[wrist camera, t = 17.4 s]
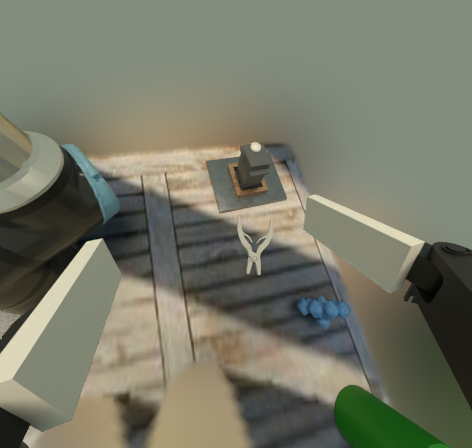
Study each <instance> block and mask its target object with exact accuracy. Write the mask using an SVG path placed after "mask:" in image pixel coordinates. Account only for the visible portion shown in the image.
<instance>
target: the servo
mask: <svg viewBox="0 0 472 448" xmlns="http://www.w3.org/2000/svg"><path fill="white" fill-rule="evenodd" d="M240 151H241V155H240V159H239V162H238V166H237V170H236V175H237V178H238V181H239V184H240V187H241V190H248V189H253V188H258V187H259V185H260V183H261V181H262V180H263V178H264V176H265V175H269V174H270V170H269V167H270V165H271V162H270V159H269V157H268V154H267V152H266V149H265V147H264V144H263V143H257V142H254V143H252V144H247V145H243V146H240Z"/></svg>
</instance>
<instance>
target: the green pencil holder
mask: <svg viewBox="0 0 472 448" xmlns="http://www.w3.org/2000/svg"><path fill="white" fill-rule="evenodd" d="M335 419H336V424H337V427H338V429H339V431H340V433H341V434H342V436H343V437H344V438H345V439H346V441H347V442H348V443H349V444H350V445H351V446H352V447H353V448H451V447H449V446H448V445H447V444H445V443H444V442H442V441H441V440H439V439H438V438H436V437H435V436H433V435H432V434H430V433H429V432H427V431H426V430H424V429H422V428H421V427H419V426H418V425H417V424H415V423H414V422H412V421H411V420H409V419H408V418H406V417H405V416H403V415H402V414H400V413H399V412H397V411H396V410H394V409H393V408H391V407H390V406H388V405H387V404H385V403H384V402H382V401H381V400H379V399H378V398H376V397H375V396H373V395H372V394H370V393H369V392H367V391H366V390H364V389H363V388H361V387H359V386H356V385H350V386H347V387H345V388H344V389H343V390H342V391H341V392H340V393H339V395H338V397H337V400H336V404H335Z"/></svg>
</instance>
